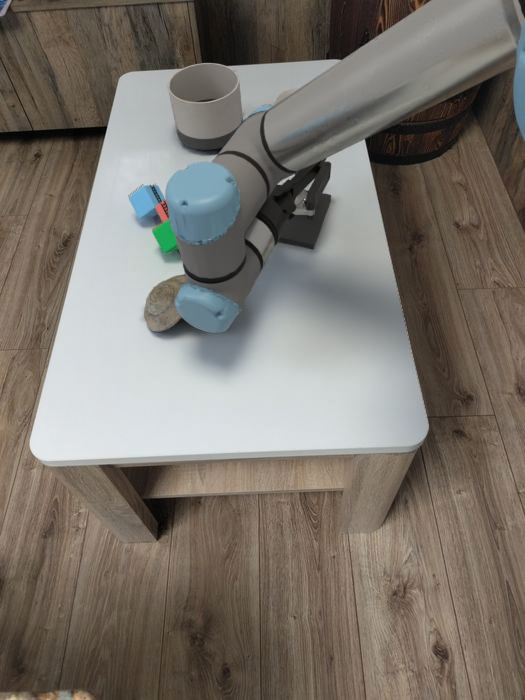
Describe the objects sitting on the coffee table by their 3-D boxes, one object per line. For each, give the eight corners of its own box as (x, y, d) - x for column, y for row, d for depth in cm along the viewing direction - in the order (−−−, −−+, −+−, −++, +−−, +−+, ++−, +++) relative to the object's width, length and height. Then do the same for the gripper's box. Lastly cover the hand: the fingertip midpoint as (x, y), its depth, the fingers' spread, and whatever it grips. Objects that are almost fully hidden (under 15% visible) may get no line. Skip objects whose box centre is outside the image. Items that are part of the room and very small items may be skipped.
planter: (215, 107, 103) (208, 55, 94) (257, 134, 97) (254, 81, 88) (165, 135, 98) (153, 83, 90) (206, 165, 93) (197, 112, 84)
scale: (331, 200, 86) (332, 186, 84) (311, 253, 80) (312, 240, 78) (254, 186, 89) (253, 172, 87) (229, 236, 83) (228, 223, 80)
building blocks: (174, 257, 87) (141, 194, 86) (208, 236, 83) (174, 169, 82) (146, 265, 80) (110, 197, 79) (182, 242, 76) (144, 169, 75)
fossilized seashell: (174, 266, 77) (173, 248, 71) (230, 305, 77) (234, 291, 71) (132, 320, 75) (126, 307, 68) (190, 360, 75) (190, 351, 68)
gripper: (196, 236, 73) (259, 142, 84) (311, 269, 68) (361, 165, 79) (187, 195, 66) (257, 99, 77) (314, 228, 62) (368, 122, 73)
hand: (310, 132), depth 78 cm, fingers closed on chalice, 5 cm apart
